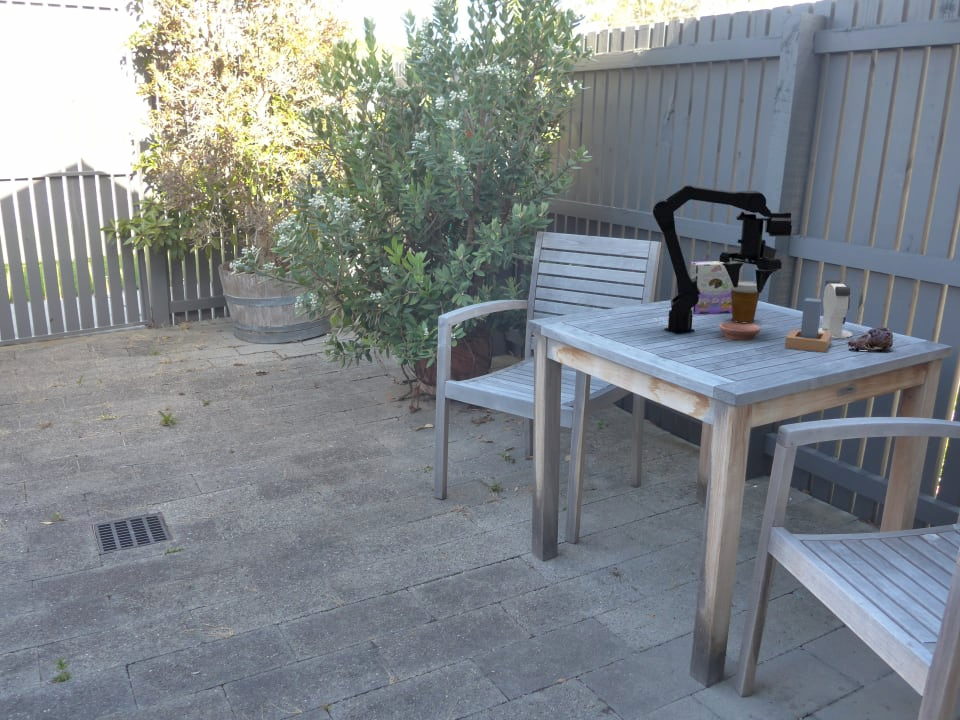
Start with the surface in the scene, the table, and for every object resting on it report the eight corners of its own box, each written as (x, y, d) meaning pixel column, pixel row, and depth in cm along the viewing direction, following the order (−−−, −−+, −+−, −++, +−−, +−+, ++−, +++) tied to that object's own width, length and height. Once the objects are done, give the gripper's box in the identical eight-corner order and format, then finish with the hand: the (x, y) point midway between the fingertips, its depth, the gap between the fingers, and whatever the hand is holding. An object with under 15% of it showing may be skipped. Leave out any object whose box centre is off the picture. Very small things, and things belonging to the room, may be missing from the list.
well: (784, 347, 231) (786, 337, 230) (791, 339, 239) (792, 329, 239) (825, 352, 226) (826, 341, 225) (830, 343, 234) (832, 333, 234)
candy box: (728, 309, 278) (732, 260, 274) (734, 313, 273) (738, 263, 268) (687, 310, 277) (690, 260, 273) (693, 314, 272) (696, 263, 267)
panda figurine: (858, 339, 239) (864, 287, 235) (817, 338, 240) (823, 287, 236) (845, 329, 251) (850, 280, 247) (806, 328, 252) (811, 279, 248)
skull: (852, 353, 225) (855, 331, 224) (840, 346, 233) (843, 324, 231) (896, 353, 225) (899, 331, 224) (883, 345, 233) (886, 324, 231)
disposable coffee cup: (762, 324, 257) (766, 286, 254) (731, 324, 257) (734, 286, 254) (753, 317, 266) (757, 280, 263) (723, 317, 267) (726, 280, 263)
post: (799, 346, 232) (804, 300, 228) (801, 343, 235) (806, 297, 232) (814, 348, 230) (819, 301, 226) (816, 345, 233) (821, 299, 230)
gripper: (797, 237, 234) (792, 292, 239) (747, 230, 250) (743, 282, 254) (769, 240, 229) (764, 296, 233) (720, 233, 245) (716, 285, 249)
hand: (747, 290), depth 243 cm, fingers open, 9 cm apart
